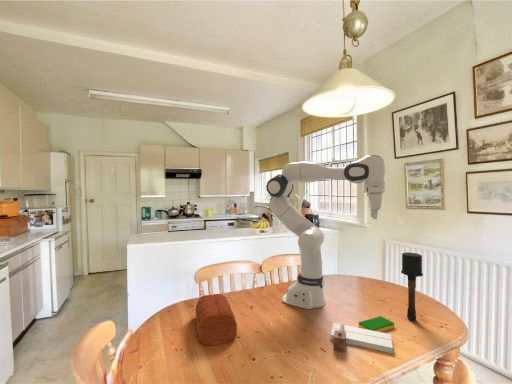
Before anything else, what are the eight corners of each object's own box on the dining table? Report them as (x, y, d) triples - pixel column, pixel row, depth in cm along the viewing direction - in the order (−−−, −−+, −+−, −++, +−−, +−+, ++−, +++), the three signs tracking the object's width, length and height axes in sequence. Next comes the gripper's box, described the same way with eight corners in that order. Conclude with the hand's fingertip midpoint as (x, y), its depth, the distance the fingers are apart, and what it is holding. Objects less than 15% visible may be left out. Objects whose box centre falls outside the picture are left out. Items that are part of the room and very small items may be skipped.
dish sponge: (358, 327, 114) (358, 322, 114) (380, 321, 119) (380, 315, 119) (371, 335, 107) (371, 329, 107) (394, 328, 113) (394, 322, 113)
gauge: (333, 350, 97) (333, 334, 97) (337, 332, 109) (337, 318, 109) (344, 352, 95) (344, 336, 95) (347, 334, 107) (347, 320, 107)
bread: (227, 311, 128) (227, 289, 128) (239, 341, 102) (239, 314, 102) (195, 315, 124) (195, 293, 124) (198, 348, 98) (198, 319, 98)
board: (330, 339, 103) (330, 334, 103) (333, 327, 113) (333, 322, 113) (392, 353, 95) (392, 347, 95) (390, 339, 104) (390, 334, 104)
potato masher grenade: (426, 325, 115) (426, 256, 115) (404, 322, 117) (404, 255, 117) (418, 315, 123) (418, 252, 123) (398, 314, 125) (398, 251, 125)
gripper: (365, 189, 135) (365, 215, 135) (368, 188, 116) (368, 219, 116) (379, 189, 133) (378, 216, 133) (384, 188, 114) (383, 220, 114)
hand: (373, 218), depth 124 cm, fingers open, 8 cm apart
